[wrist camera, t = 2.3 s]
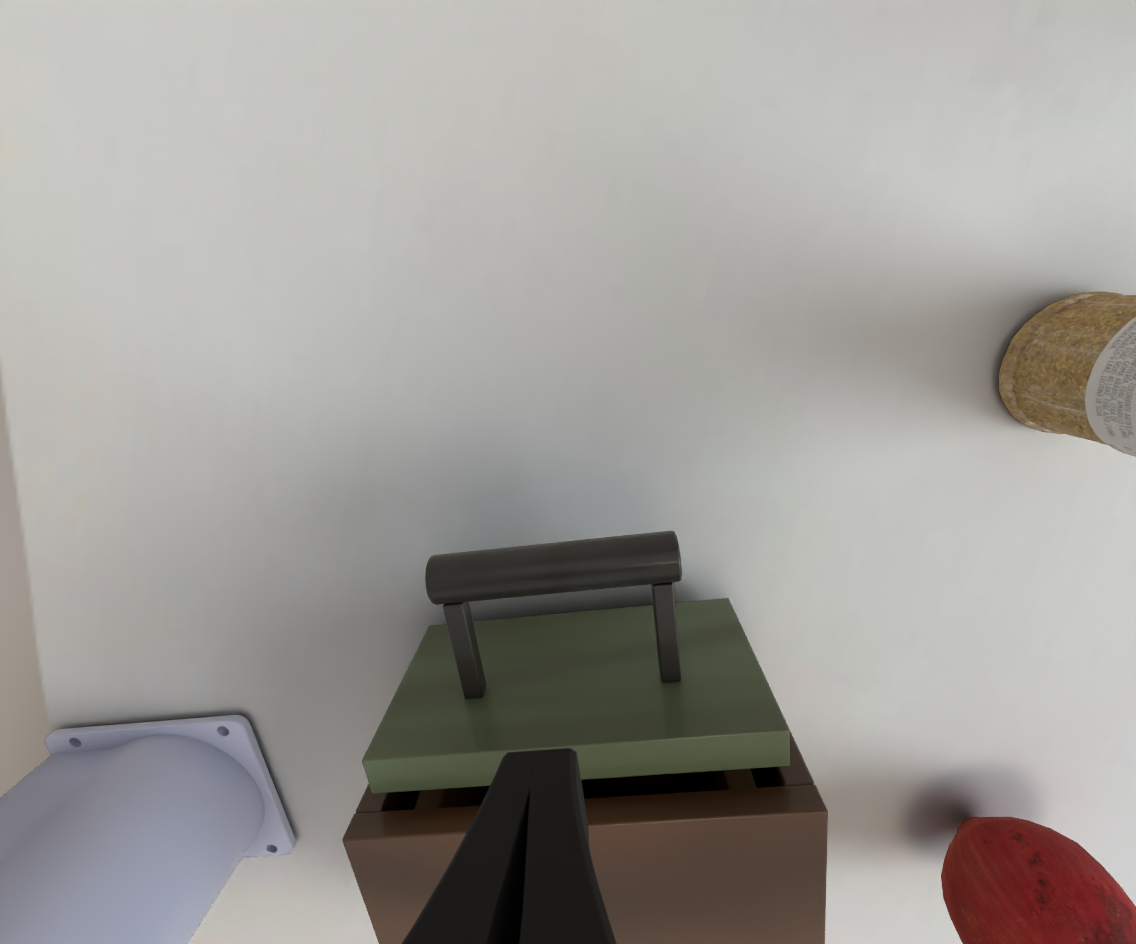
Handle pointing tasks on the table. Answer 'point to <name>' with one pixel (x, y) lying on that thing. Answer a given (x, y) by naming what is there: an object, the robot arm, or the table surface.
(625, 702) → the drawer
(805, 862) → the cabinet
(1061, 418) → the sprinkles bottle
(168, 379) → the table surface
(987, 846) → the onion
